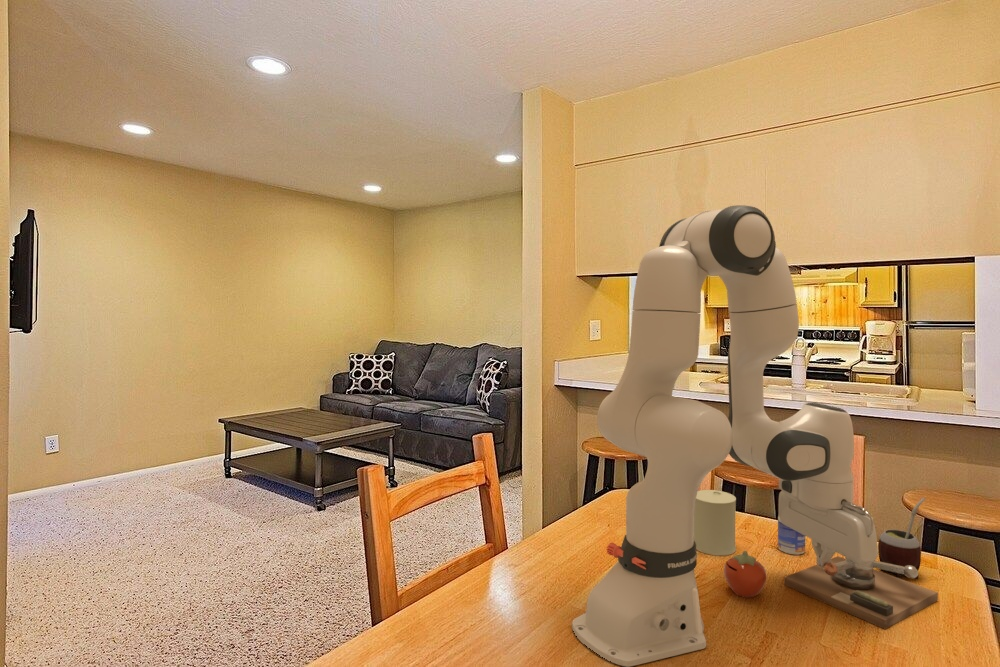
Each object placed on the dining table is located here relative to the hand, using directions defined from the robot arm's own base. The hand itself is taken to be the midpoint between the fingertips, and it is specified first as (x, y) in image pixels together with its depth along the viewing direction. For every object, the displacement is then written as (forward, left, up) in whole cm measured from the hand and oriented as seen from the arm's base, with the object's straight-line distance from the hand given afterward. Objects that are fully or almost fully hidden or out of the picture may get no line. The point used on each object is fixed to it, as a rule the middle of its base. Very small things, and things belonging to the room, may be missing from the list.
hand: (823, 566), depth 107 cm
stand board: (+7, -2, -6) cm, 10 cm away
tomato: (-11, +9, -6) cm, 15 cm away
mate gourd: (+22, -2, -6) cm, 23 cm away
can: (+1, +26, -6) cm, 26 cm away
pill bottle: (+14, +16, -6) cm, 22 cm away
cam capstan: (+5, -2, -4) cm, 7 cm away
